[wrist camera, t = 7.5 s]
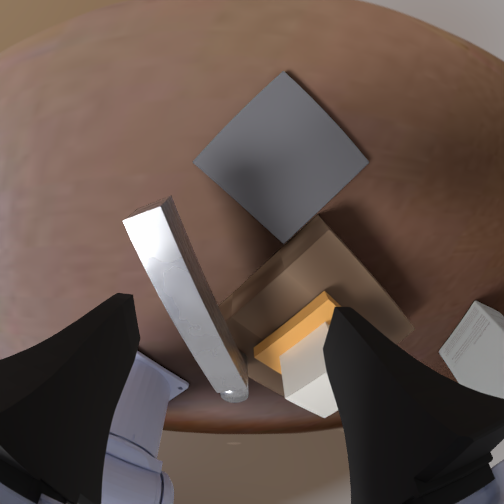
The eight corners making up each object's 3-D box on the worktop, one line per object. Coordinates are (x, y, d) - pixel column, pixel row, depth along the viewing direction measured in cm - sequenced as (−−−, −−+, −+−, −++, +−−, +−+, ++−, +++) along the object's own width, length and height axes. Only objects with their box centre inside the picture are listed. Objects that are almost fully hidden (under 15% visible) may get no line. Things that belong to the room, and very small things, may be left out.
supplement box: (436, 352, 26) (487, 437, 14) (474, 297, 23) (544, 376, 11) (466, 358, 27) (512, 428, 15) (500, 311, 24) (557, 376, 13)
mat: (282, 241, 20) (283, 244, 19) (193, 161, 17) (192, 162, 17) (366, 161, 18) (369, 162, 17) (282, 72, 15) (283, 70, 15)
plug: (304, 356, 24) (320, 430, 17) (252, 319, 23) (256, 400, 15) (360, 312, 23) (397, 382, 15) (313, 266, 21) (345, 339, 13)
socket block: (300, 384, 26) (304, 407, 23) (202, 320, 22) (197, 345, 20) (400, 308, 23) (415, 329, 20) (317, 214, 19) (329, 229, 16)
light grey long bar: (252, 364, 20) (253, 399, 17) (226, 369, 21) (224, 404, 17) (177, 189, 15) (160, 206, 12) (145, 201, 15) (122, 221, 12)
